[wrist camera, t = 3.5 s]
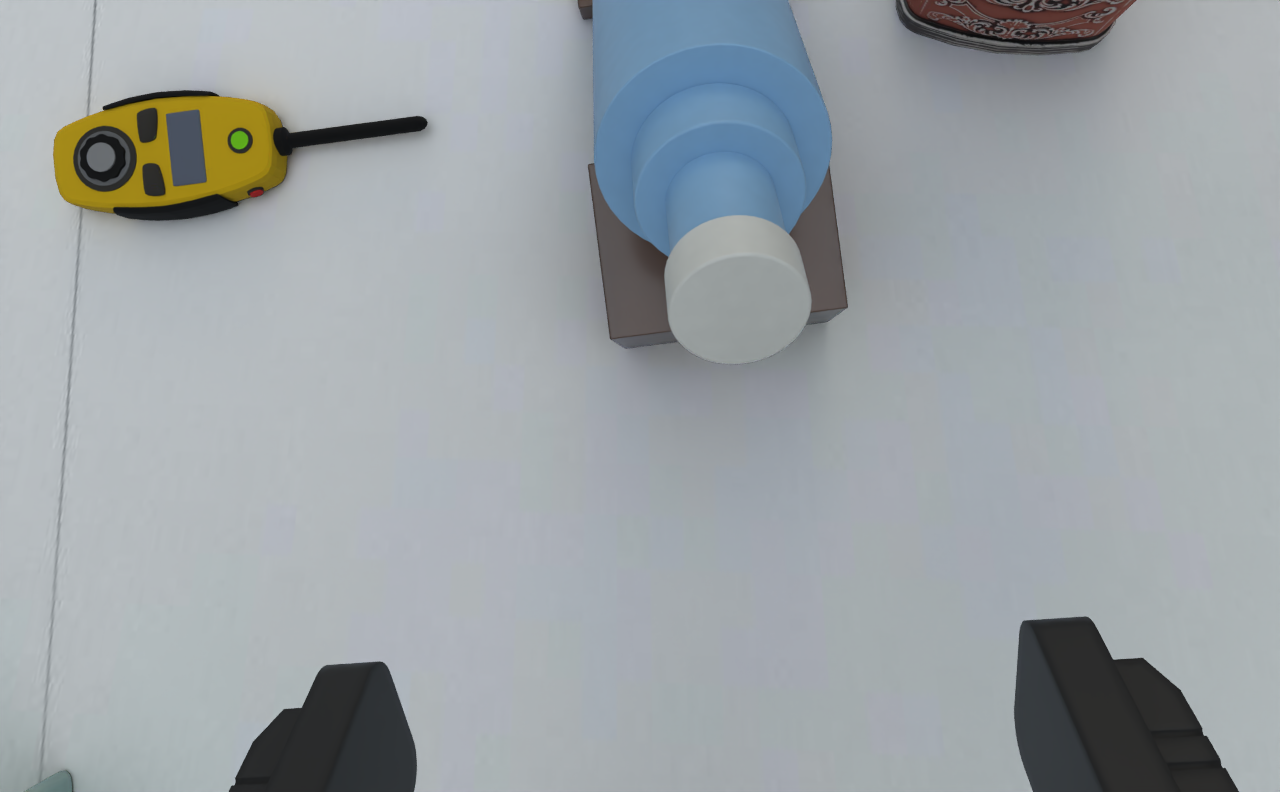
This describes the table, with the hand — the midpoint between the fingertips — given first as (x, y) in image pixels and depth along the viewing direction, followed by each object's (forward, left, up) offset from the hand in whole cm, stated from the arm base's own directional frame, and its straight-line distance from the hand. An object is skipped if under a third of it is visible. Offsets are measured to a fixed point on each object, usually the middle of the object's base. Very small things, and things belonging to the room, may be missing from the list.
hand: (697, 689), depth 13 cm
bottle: (-2, -13, -26) cm, 29 cm away
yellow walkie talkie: (+16, -16, -26) cm, 35 cm away
